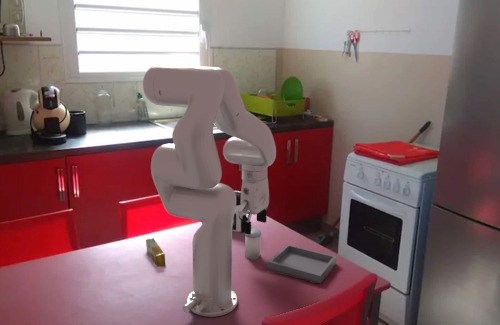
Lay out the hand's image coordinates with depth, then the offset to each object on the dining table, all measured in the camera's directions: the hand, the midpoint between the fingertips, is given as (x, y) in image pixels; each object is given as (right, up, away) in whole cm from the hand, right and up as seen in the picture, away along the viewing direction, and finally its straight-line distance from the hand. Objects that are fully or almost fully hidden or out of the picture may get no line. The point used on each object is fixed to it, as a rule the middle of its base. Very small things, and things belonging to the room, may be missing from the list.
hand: (253, 227), depth 137 cm
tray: (+14, -11, -4) cm, 19 cm away
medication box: (-30, -10, 0) cm, 31 cm away
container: (-6, -4, +23) cm, 24 cm away
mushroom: (0, -9, +2) cm, 9 cm away
